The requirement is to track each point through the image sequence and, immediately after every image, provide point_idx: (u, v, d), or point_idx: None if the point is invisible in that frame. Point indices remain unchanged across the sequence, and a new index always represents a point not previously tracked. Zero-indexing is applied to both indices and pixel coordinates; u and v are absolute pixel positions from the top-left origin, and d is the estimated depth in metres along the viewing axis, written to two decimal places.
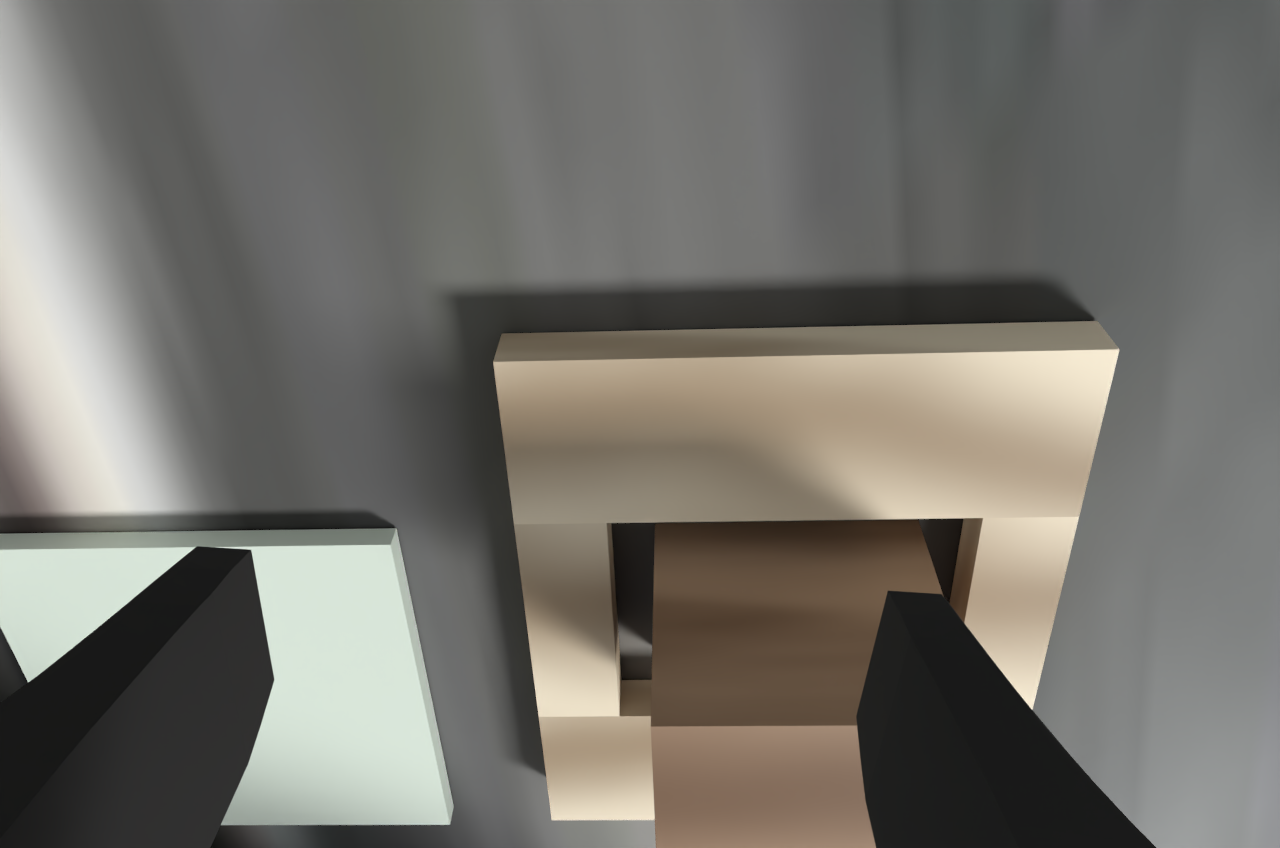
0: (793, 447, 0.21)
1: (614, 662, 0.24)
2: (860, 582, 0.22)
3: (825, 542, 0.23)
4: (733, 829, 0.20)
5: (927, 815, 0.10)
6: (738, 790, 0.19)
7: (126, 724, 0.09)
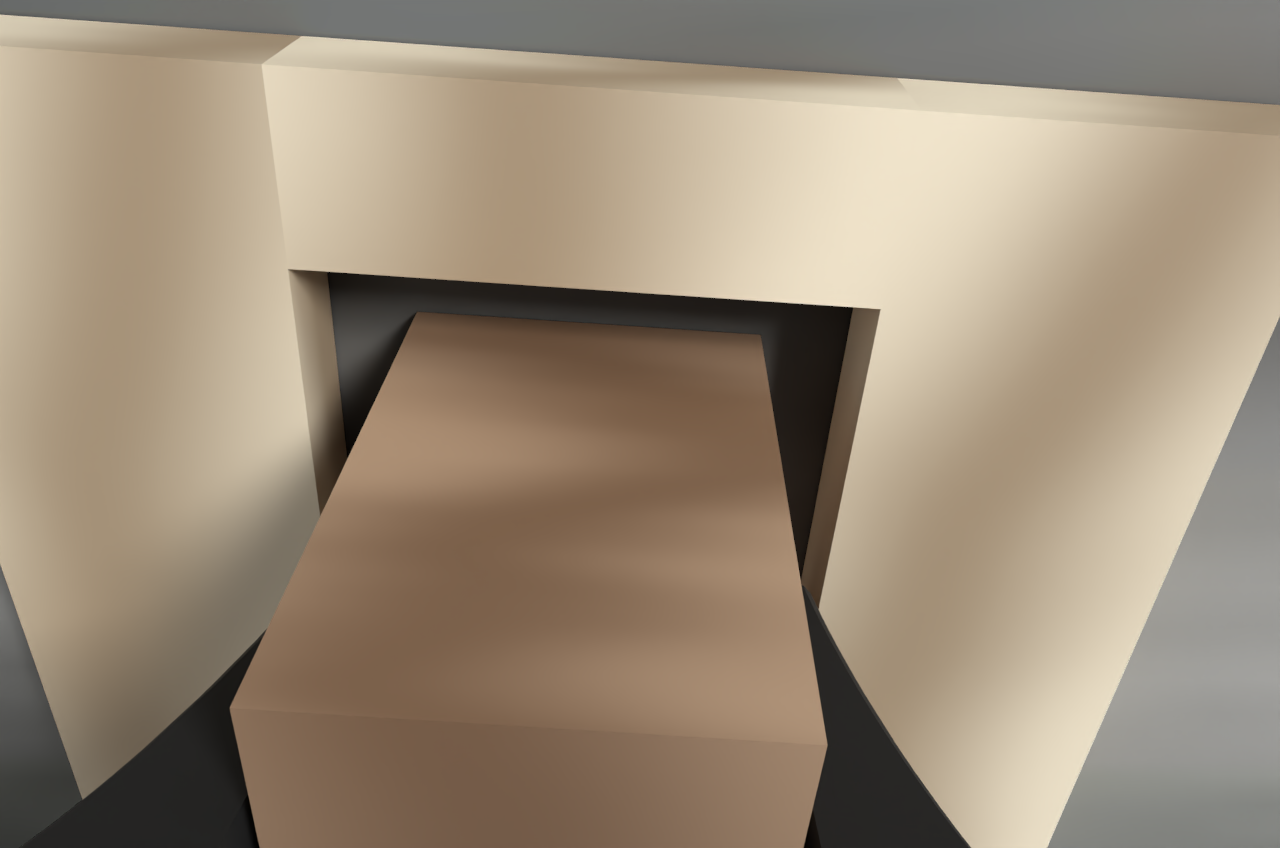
0: (171, 569, 0.12)
1: None
2: None
3: None
4: None
5: None
6: None
7: None
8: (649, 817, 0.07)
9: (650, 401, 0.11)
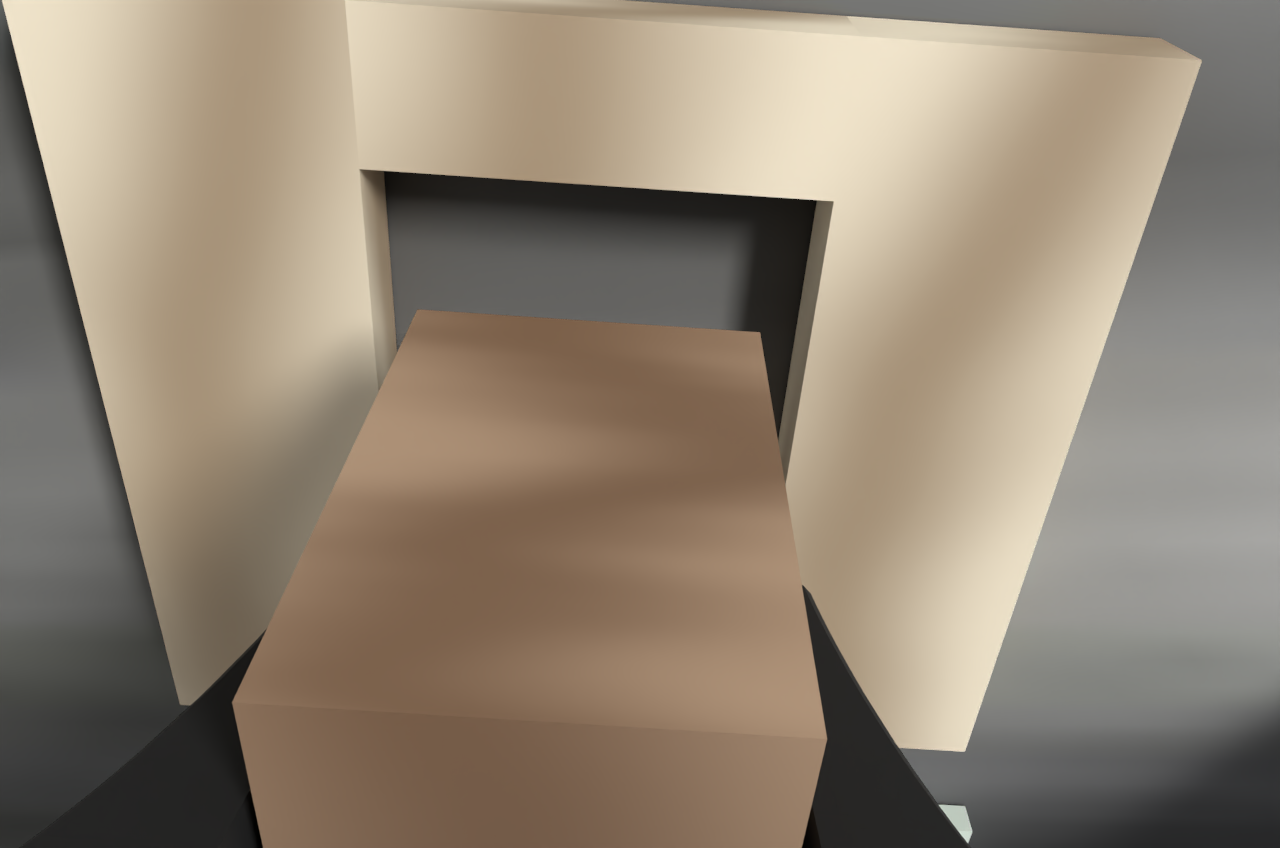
0: (252, 432, 0.15)
1: None
2: None
3: None
4: None
5: None
6: None
7: None
8: (649, 811, 0.07)
9: (650, 398, 0.11)
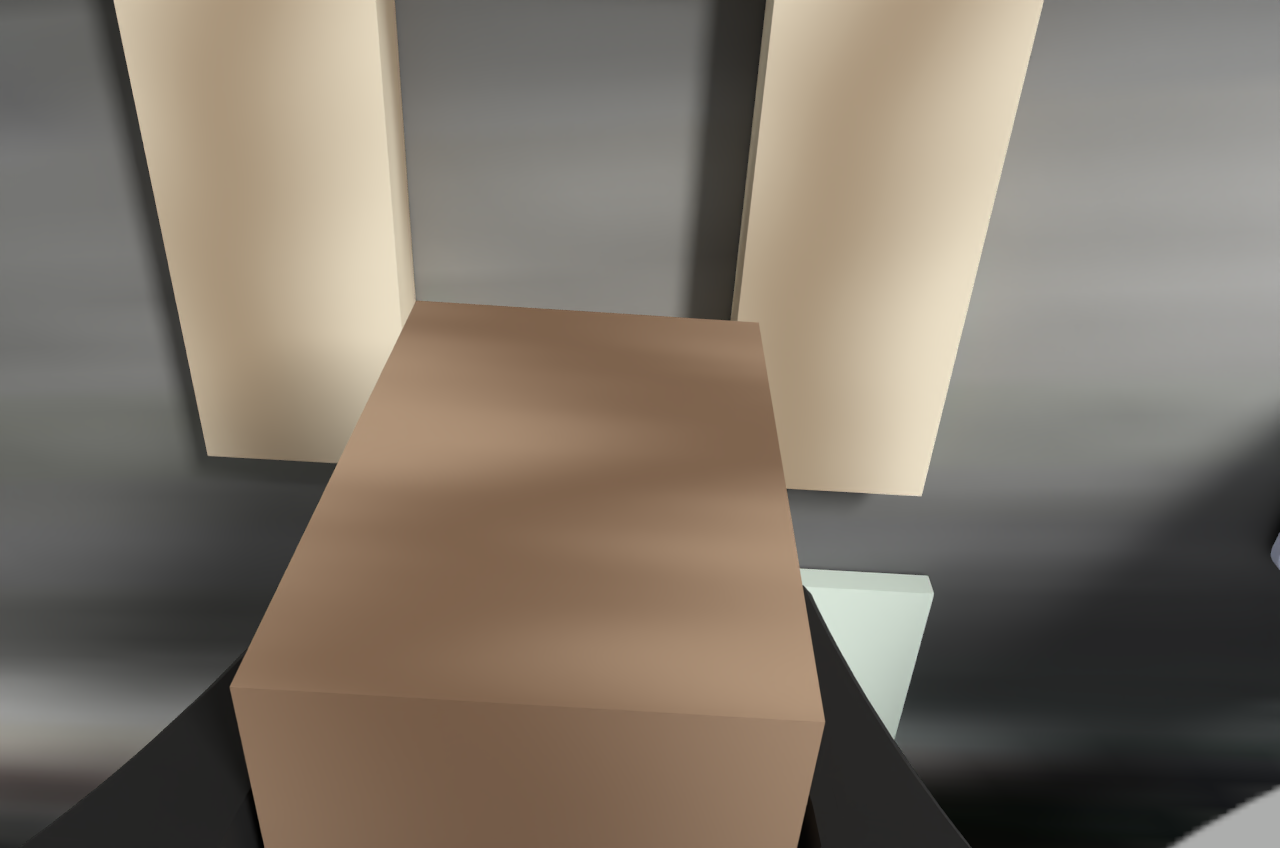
0: (274, 166, 0.17)
1: None
2: None
3: None
4: None
5: None
6: None
7: None
8: (648, 796, 0.07)
9: (649, 387, 0.11)
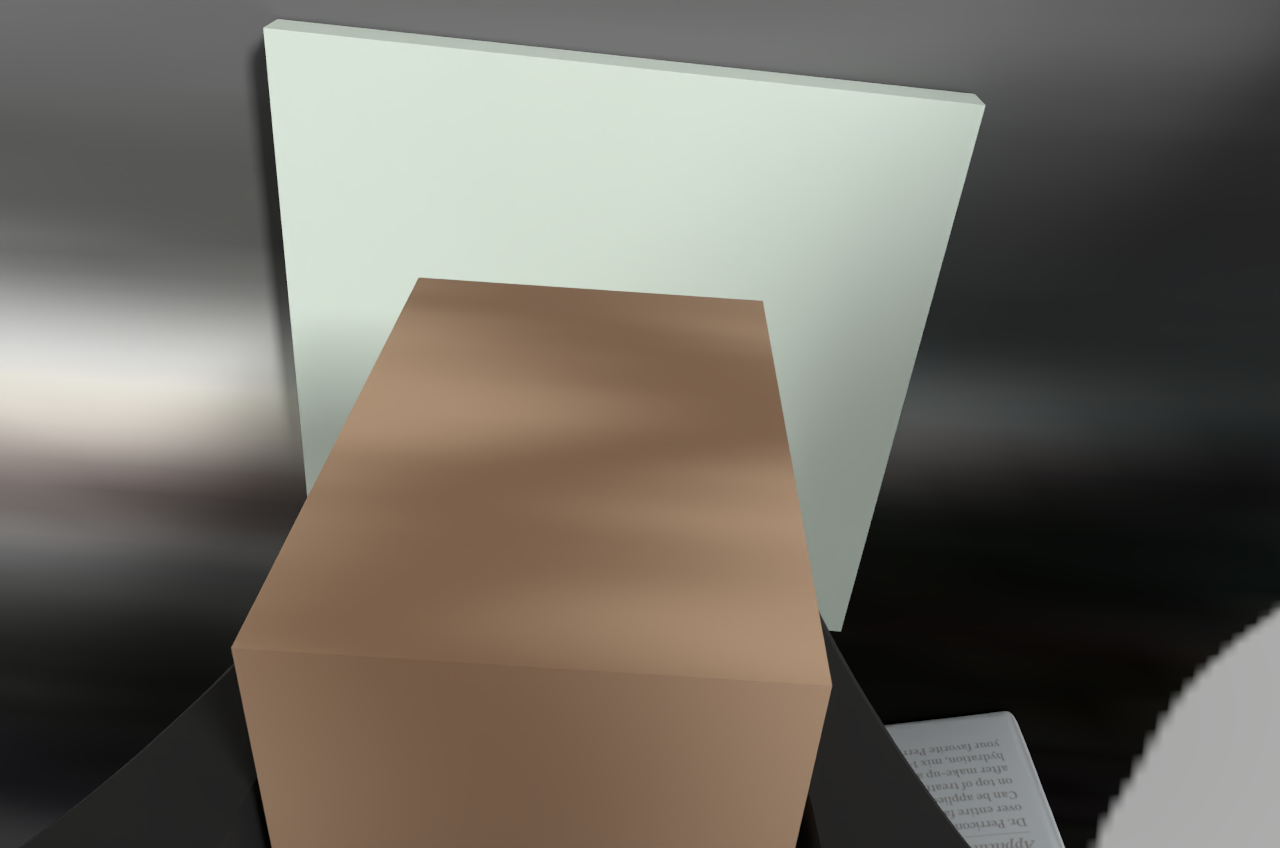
0: None
1: None
2: None
3: None
4: None
5: None
6: None
7: None
8: (652, 761, 0.07)
9: (652, 362, 0.11)
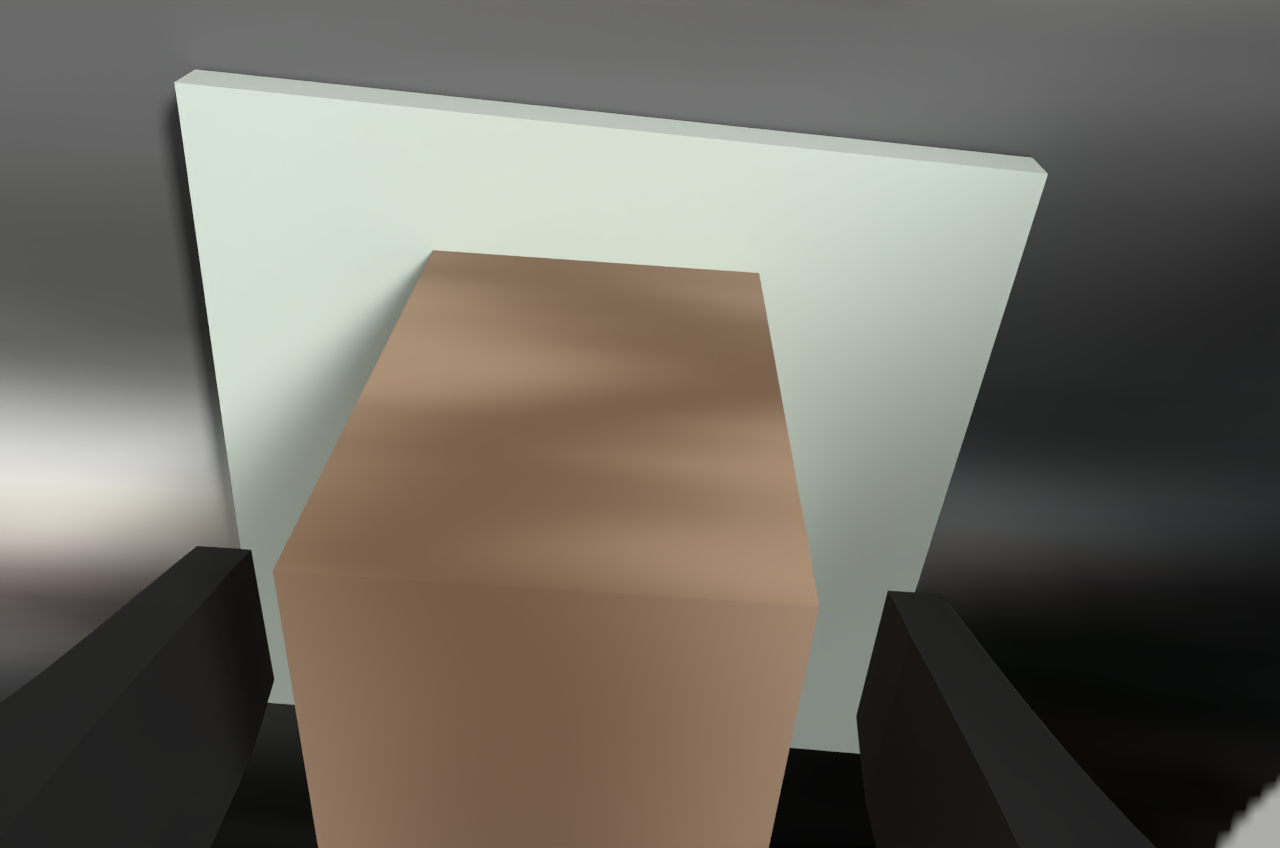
0: None
1: None
2: None
3: None
4: None
5: (927, 815, 0.10)
6: None
7: (126, 724, 0.09)
8: (656, 680, 0.08)
9: (655, 327, 0.11)
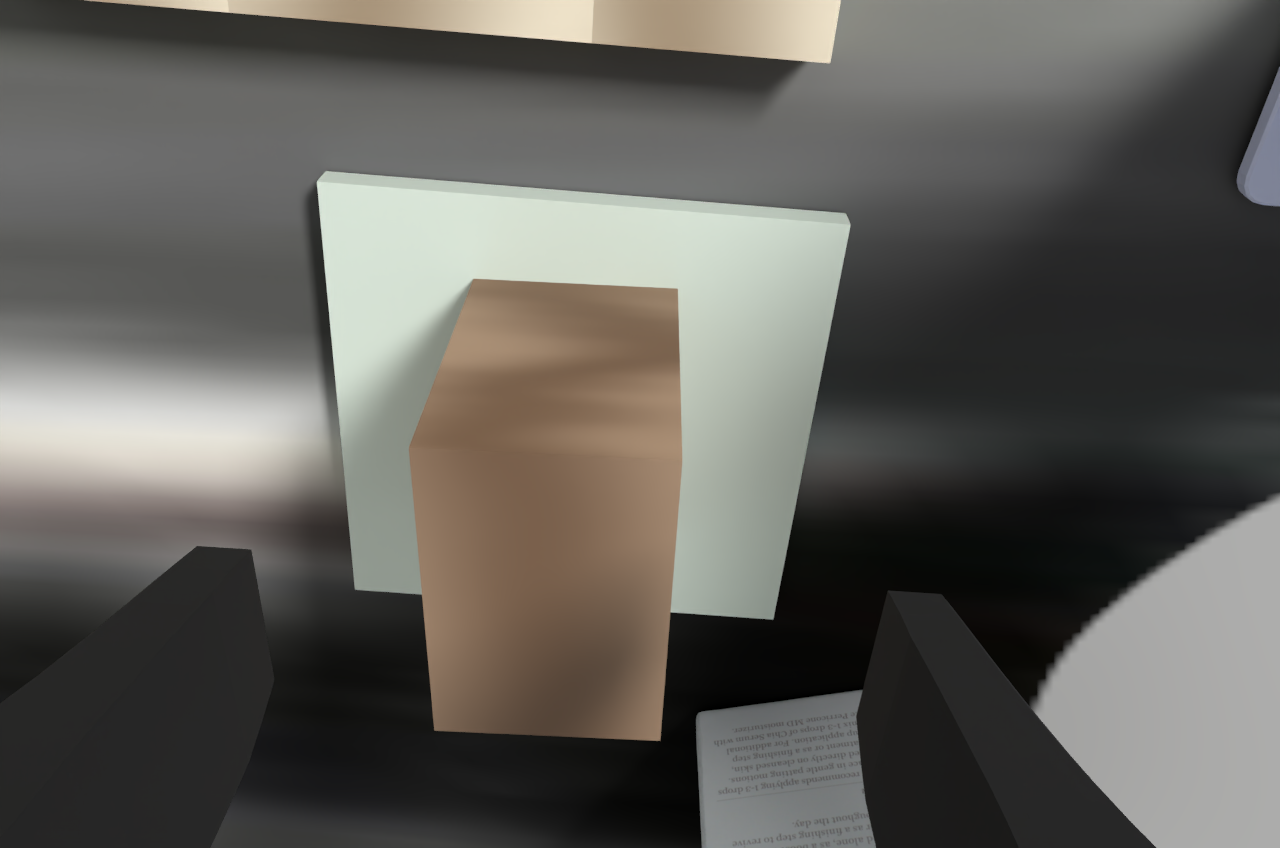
0: None
1: None
2: None
3: None
4: (603, 675, 0.17)
5: (927, 815, 0.10)
6: (533, 669, 0.17)
7: (126, 724, 0.09)
8: (603, 504, 0.15)
9: (609, 323, 0.19)
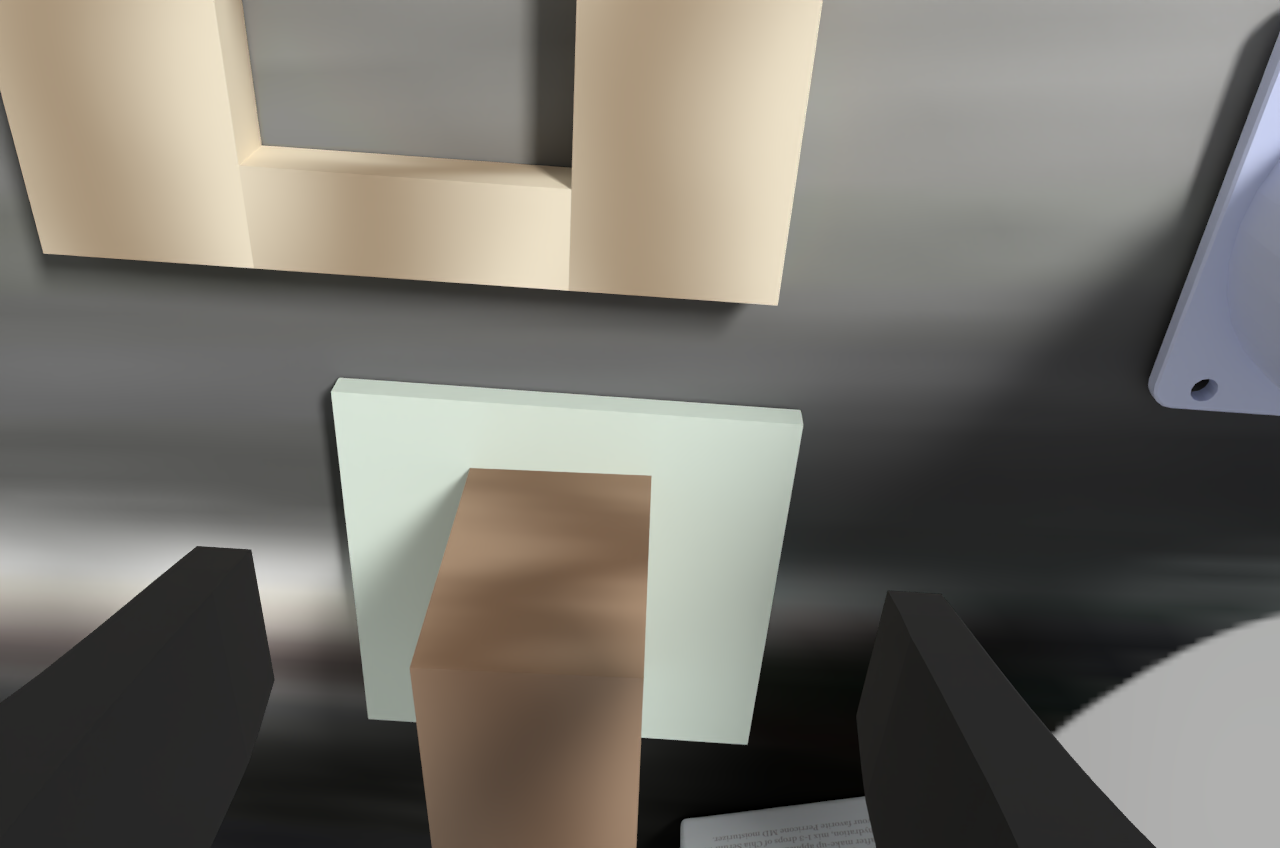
0: None
1: (469, 183, 0.19)
2: None
3: None
4: (582, 840, 0.20)
5: (927, 815, 0.10)
6: (521, 835, 0.20)
7: (126, 724, 0.09)
8: (577, 710, 0.18)
9: (588, 519, 0.21)
